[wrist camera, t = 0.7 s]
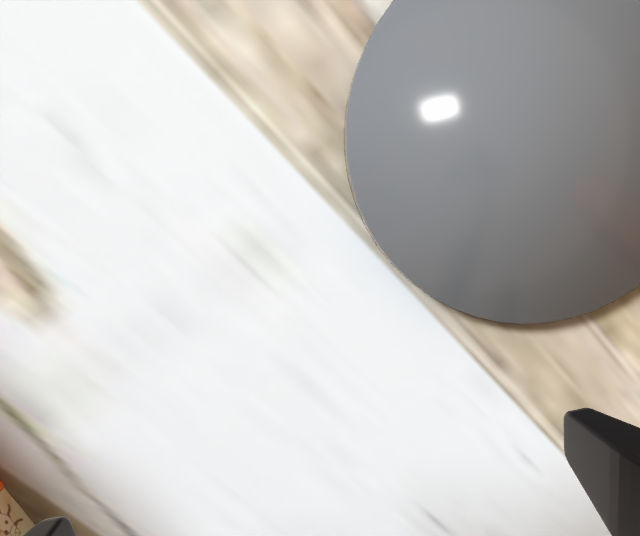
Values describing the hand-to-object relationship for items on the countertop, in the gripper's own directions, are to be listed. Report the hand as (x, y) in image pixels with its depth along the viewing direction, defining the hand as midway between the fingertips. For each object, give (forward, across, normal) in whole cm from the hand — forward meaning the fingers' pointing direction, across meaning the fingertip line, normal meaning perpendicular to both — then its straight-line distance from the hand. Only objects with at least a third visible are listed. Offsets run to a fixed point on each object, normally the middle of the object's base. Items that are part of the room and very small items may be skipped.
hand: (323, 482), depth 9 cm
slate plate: (+16, -12, -3) cm, 21 cm away
